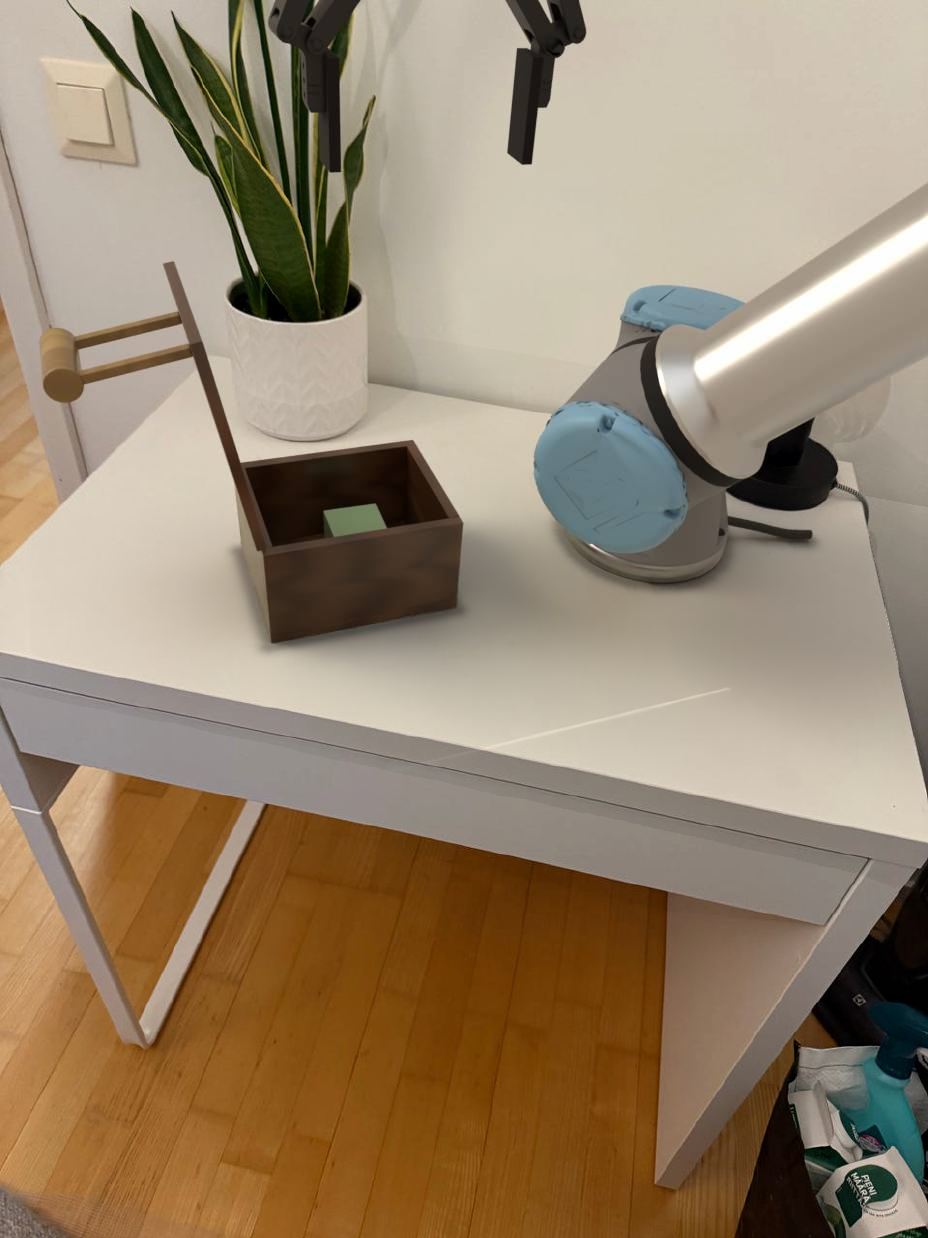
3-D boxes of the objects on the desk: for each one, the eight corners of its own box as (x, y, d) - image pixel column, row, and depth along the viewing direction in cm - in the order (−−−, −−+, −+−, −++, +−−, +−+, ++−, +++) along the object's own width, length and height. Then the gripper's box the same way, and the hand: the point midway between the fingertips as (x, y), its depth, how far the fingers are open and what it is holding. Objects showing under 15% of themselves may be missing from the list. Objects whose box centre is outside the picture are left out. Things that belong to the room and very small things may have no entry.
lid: (173, 260, 65) (24, 295, 63) (202, 340, 56) (30, 384, 55) (236, 457, 77) (112, 491, 75) (267, 548, 68) (128, 590, 66)
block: (375, 545, 83) (375, 503, 80) (389, 577, 80) (390, 534, 77) (324, 553, 82) (323, 510, 79) (336, 585, 79) (335, 542, 76)
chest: (410, 521, 88) (413, 439, 82) (456, 607, 79) (463, 522, 73) (241, 548, 83) (231, 463, 77) (271, 643, 74) (262, 555, 68)
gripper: (620, -245, 56) (569, 140, 70) (193, -292, 48) (233, 151, 62) (684, -244, 51) (615, 172, 65) (218, -295, 43) (255, 188, 57)
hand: (427, 162), depth 64 cm, fingers open, 13 cm apart
